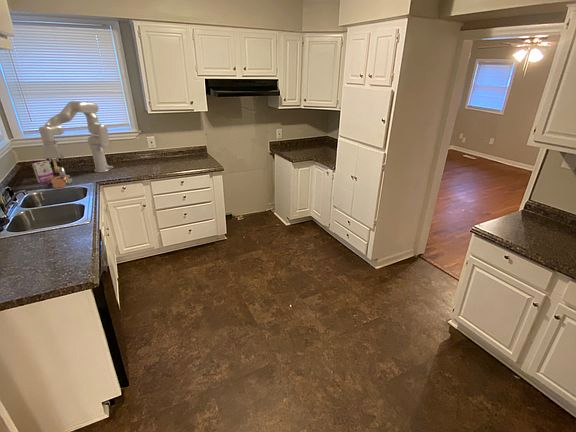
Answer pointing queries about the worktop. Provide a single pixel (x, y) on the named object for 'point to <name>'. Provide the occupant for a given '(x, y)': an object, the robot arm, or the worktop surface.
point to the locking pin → (56, 166)
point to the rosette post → (61, 179)
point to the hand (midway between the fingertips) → (56, 166)
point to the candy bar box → (43, 171)
